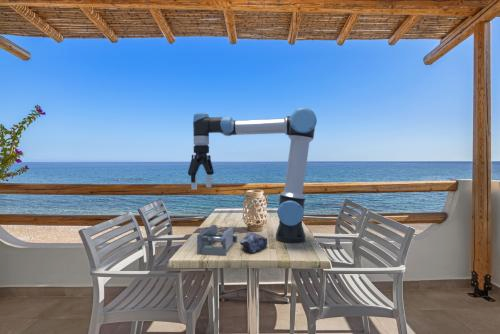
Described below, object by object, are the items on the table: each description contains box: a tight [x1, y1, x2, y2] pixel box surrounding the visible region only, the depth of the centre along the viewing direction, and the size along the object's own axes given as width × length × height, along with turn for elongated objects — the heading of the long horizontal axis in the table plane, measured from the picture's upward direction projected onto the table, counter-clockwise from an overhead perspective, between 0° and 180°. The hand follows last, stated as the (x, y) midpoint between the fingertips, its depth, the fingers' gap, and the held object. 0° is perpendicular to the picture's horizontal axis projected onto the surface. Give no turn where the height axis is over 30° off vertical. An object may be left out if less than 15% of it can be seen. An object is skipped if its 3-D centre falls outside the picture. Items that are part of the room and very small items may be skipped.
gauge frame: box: [196, 224, 238, 257], centre depth 135 cm, size 12×23×8 cm, turn 170°
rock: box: [239, 231, 268, 254], centre depth 132 cm, size 14×10×10 cm
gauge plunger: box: [208, 226, 235, 252], centre depth 135 cm, size 12×21×8 cm, turn 170°
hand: (201, 188), depth 144 cm, fingers open, 13 cm apart
